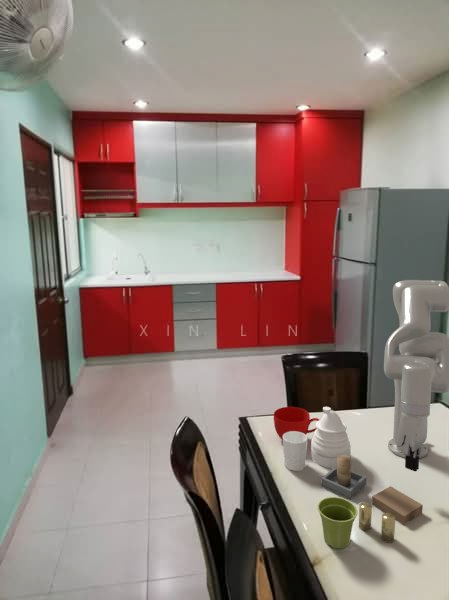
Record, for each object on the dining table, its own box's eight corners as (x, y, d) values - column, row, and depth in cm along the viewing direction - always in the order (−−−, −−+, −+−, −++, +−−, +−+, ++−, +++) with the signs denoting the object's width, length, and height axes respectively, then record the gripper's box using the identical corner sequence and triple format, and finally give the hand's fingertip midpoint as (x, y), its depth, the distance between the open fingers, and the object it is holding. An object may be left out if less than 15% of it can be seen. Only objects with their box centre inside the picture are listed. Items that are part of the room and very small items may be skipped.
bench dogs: (362, 521, 111) (362, 500, 110) (396, 538, 105) (397, 516, 104) (356, 527, 109) (357, 506, 108) (390, 544, 103) (392, 522, 102)
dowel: (341, 477, 130) (341, 453, 129) (353, 482, 127) (353, 458, 126) (334, 483, 127) (334, 458, 126) (346, 488, 124) (346, 463, 123)
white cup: (307, 473, 134) (307, 444, 132) (281, 471, 135) (281, 442, 133) (307, 459, 141) (307, 432, 139) (283, 457, 143) (283, 430, 141)
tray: (337, 472, 134) (337, 464, 133) (366, 484, 127) (366, 476, 127) (321, 485, 127) (321, 478, 127) (350, 499, 120) (350, 491, 120)
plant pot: (312, 528, 109) (312, 497, 108) (347, 525, 110) (348, 495, 109) (323, 555, 100) (324, 523, 99) (362, 552, 101) (363, 519, 99)
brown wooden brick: (390, 495, 122) (390, 486, 122) (422, 514, 114) (422, 504, 113) (371, 505, 118) (372, 496, 118) (403, 526, 110) (404, 516, 109)
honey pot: (328, 472, 134) (329, 419, 131) (303, 453, 145) (303, 404, 142) (358, 461, 140) (360, 410, 137) (332, 444, 151) (333, 396, 148)
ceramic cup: (321, 451, 146) (322, 424, 145) (272, 447, 149) (272, 421, 148) (319, 433, 159) (320, 408, 157) (274, 430, 162) (274, 405, 160)
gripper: (411, 396, 126) (408, 454, 128) (390, 411, 115) (387, 474, 118) (438, 403, 120) (434, 463, 123) (418, 419, 110) (415, 484, 112)
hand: (411, 468), depth 120 cm, fingers closed
